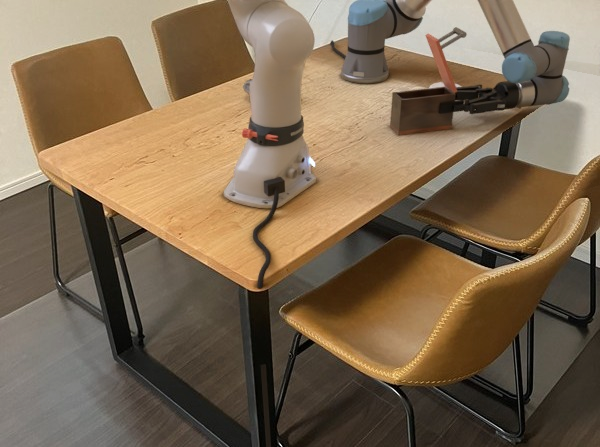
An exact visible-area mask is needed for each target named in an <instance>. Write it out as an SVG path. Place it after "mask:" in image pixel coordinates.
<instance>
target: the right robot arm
mask: <svg viewBox="0 0 600 447" xmlns="http://www.w3.org/2000/svg"><path fill="white" fill-rule="evenodd" d="M432 1H433V0H355V1H352V3H351V4H350V5H349V8H348V15H347V52H346V54H344V53H343V52H341V51H340V50H338V49H337V48H336V47H335V41H334V40H330V45H331V49H332V50H333V51H334V52H335V53H336V54H337V55H339V56H340V57H342V58H343V59H344V61H343V64H342V66H341V72H340V76H341V78H342V79H343V80H345V81H347V82H350V83H354V84H355V83H356V84H363V85H364V84H367V85H368V84H378V83H381V82H384V81H387V80H388V78H389V76H390V74H389V73H390V70H389V66H388V62H387V58H386V54H385V45H386V40H388V39H391V38H394V37H397V36H401V35H407V34H409V33H412V32H414V31H416V29H417V28H419V26H420V25H421V24H422V22H423V19H424V17H423V16H425V14H426V9H427V8H426V7H427V6H428V5H429V4H430V3H432ZM477 2H478V5H479V6H480V9H481V11H482V13H483V15H484V17H485V20H486V21H487V24H488V26H489V28H490V30H491V33H492V34H493V36H494V38H495V40H496V43H497V46H498V48H499V49H500V51H501V53H502V55H503V58H504V60H503V61H502V63H501V73H502V76H503V78H504V79H505V80H503V81H499V82H497V83H496V84H495V85H494V87H485V88H483V84H481V83H479V84H476V85H467V86H462V87H456V89H457V92H456V93H455V94H456V96H455V100H460V101H452V102H444V103H440V106H439V113H440V114H443V113H451V112H453V113H459V112H465V113H468V112H469V115H477V114H482V113H490V112H496V111H497V112H498V111H500V112H502V111H503V112H504V111H505V110H511V109H522V108H526V107H533V106H543V105H553V104H558V103H561V102H563V101H565V100H566V99H567V97H568V96H569V93H570V87H569V85H570V82H569V80H568V78H567V77H566V76H565V75H563V73H564V70H565V65H566V62H567V61H566V60H567V57H568V53H569V50H570V49H569V47H570V40H571V38H570V35H569V34H568V33H567V32H563V31H558V30H547V31H546V30H545V31H543V32H542V33H541V34H540V36H539V39H538V41H537V43H538V44H536V45H535V44H534V42H533V40H532V39H531V36H530V33H529V32H528V30H527V28H526V25H525V23H524V21H523V19H522V17H521V14H520V12H519V10H518V8H517V6H516V4H515V2H514V0H477ZM449 90H450V89H449ZM453 93H454V92H453Z"/></svg>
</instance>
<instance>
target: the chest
mask: <svg viewBox="0 0 600 447" xmlns="http://www.w3.org/2000/svg"><path fill="white" fill-rule="evenodd" d="M455 96H456V94H455V93H453V92H452V91H451V90H449V89H448V88H447V87H438V88H429V87H428V88H420V89H410V90H401V91H393V92H392V95H391V108H390V120H389V121H390V122H389V127H390V128H391V129H392V130H393V131H394V132H395V133H396V134H397V135H398V136H403V135H411V134H419V133H426V132H433V131H434V132H435V131H440V130H441V131H442V130H450V129H452V128H453V118H454V112H451V113H443V114H440V113H439V106H440V103H444V102H452V101H455Z"/></svg>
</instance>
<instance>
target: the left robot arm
mask: <svg viewBox="0 0 600 447" xmlns="http://www.w3.org/2000/svg"><path fill="white" fill-rule="evenodd" d="M227 3H228V6H229V9H230V11H231V14H232V17H233V19H234V22H235V24H236V27H237V29H238V32H239V34H240V35H241V38H242V39H243V40H244V41H245V42H246V43H247V44H248V45H249V46H250V47H252V49H253V52H254V68H253V73H252V78H251V79H252V80H251V82H250V86H249V88H250V95H249V101H250V102H249V103H250V117H249V123H248V126H247V128H245V127H244V128H243V129H242V131H241V137H242V138H244V139H247V140H246V142H245V144H244V146H243V148H242V151H241V153H240V154H239V157H238V159H237V161H236V163H235V166H234V167H233V168H234V169H233V177H232V178H231V180H230V181H229V183H228V184H227V186H226V187H225V188H224V190H223V196H224V198H225V199H228V200H229V201H231V202H233V203H237V204H239V205H244V206H248V207H252V208H258V209H270V210H269V213H268V215H267V216H266V218H265V219H264V220H263V221H261V223H259V224H258V225H257V226H255V228H254V229H253V232H252V239H253V241H254V243H255V244H256V245H257V246H258V247H259V249H260V250H261V251H263V253H264V256H265V261H264V263H263V265H262V266H261V269H260V271H259V272H258V277H257V285H256V286H257V287H256V288H257V289H258V290H262V289H263V287H264V279H265V275H266V272H267V271H268V268H269V267H270V265H271V261H272V256H271V252H270V250H269V249H268V247H267V246H266V245H265V244H264V243H263V242H262V241H261V240H260V238H259V233H260V231H261V229H263V228H264V227H266V225H268V224H269V223H270V222H271V220H272V219H273V217H274V215H275V213H276V211H277V209H278V208H280V207H283V205H285V204H286V203H288V202H289V201H292V199H294V198H295V197H296V196H298V195H299V194H301V193H303V192H304V191H305V190H307V189H308V188H309V187H311V186H313V185H314V184H316V182H317V176H316V175H315V174H314V173H312V167H311V165H312V166H313V167H316V162H315V161H314V160H313V158H311V154H310V147H309V145H308V144H307V142H306V140H305V138H304V133H305V132H304V131H305V130H304V127H305V121H304V116H303V115H302V82H303V75H304V71H305V66H306V62H307V60H308V59H309V58H310V57H311V55H312V53H313V50H314V47H315V39H316V38H315V33H314V30H313V28H312V26H311V25H310V23H309V21H308V20H307V19H306V17H305V15H303V14H302V13H301V12H300V11H298V10H296V9H295V8H293V7H292V6H290V5H289V4H288V3H287V2H286V1H285V0H227ZM260 374H261V375H260V376H261V387H262V388H261V391H262V406H263V416H264V417H263V422H264V432H265V433H264V434H265V435H264V436H265V447H272V442H271V426H270V409H269V395H268V392H269V391H268V378H267V377H268V376H267V364H266V363H264V364H260Z"/></svg>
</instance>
